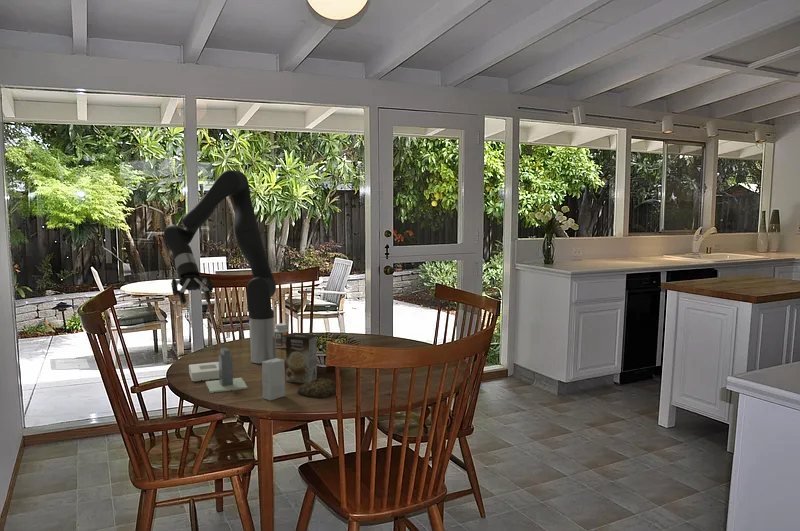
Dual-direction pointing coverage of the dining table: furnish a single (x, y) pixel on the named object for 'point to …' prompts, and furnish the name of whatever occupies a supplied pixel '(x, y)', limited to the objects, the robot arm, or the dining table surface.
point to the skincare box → (273, 378)
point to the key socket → (204, 371)
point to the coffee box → (301, 358)
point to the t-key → (225, 367)
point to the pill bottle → (281, 335)
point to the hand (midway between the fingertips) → (196, 301)
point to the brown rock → (318, 388)
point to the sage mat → (216, 387)
